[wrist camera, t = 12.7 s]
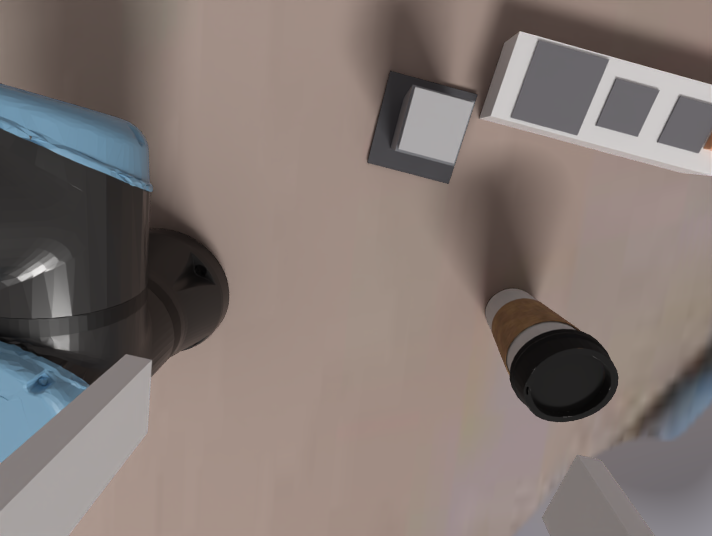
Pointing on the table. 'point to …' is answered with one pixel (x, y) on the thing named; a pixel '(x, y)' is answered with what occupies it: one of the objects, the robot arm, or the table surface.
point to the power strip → (602, 104)
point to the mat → (387, 125)
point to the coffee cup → (550, 358)
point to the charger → (432, 125)
